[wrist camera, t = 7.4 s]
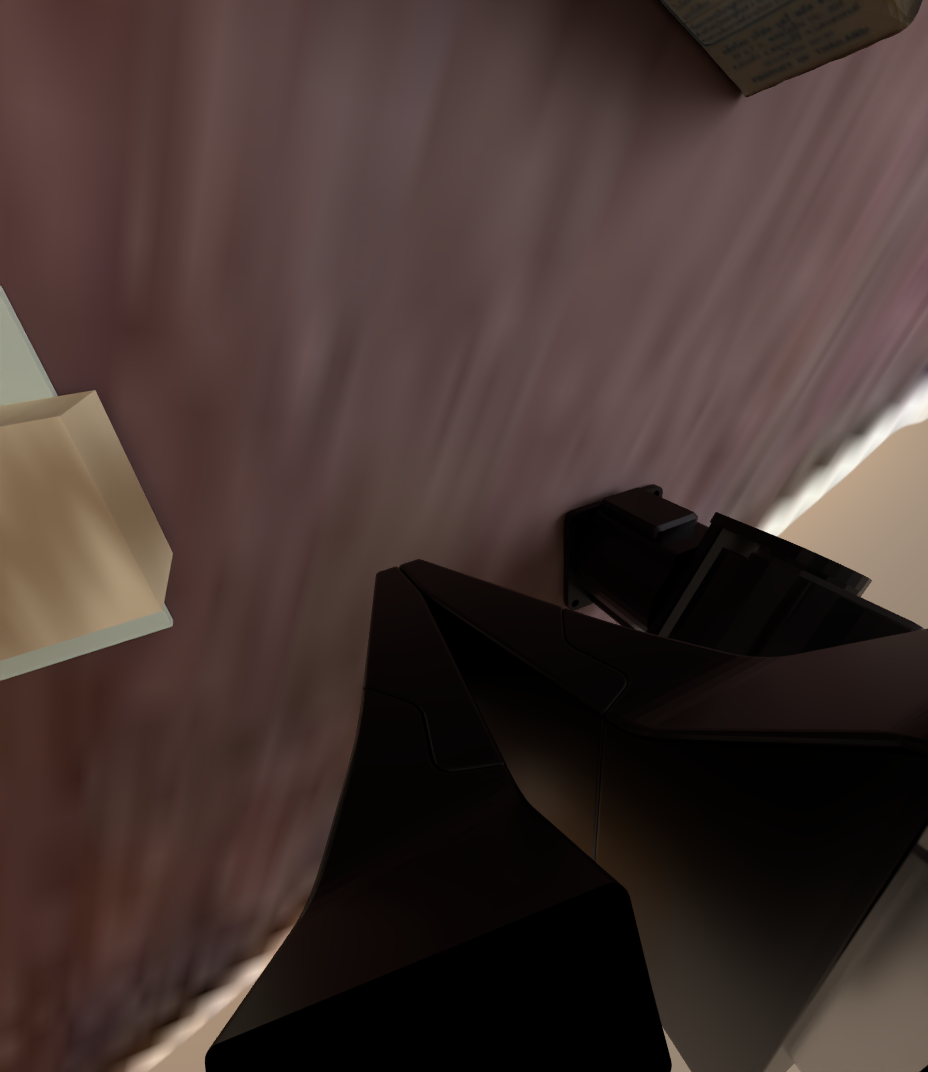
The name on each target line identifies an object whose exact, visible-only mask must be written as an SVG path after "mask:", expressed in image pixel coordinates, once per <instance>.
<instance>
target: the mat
mask: <svg viewBox="0 0 928 1072" xmlns="http://www.w3.org/2000/svg"><path fill="white" fill-rule="evenodd" d="M56 396H58V395H57V394H56V392H55V390H54V388H53V386H52V384H51V382H50V380H49V378H48V376H47V374H46V372H45V370H44V368H43V366H42V364H41V362H40V360H39V358H38V357H37V355H36V353H35V351H34V349H33V347H32V345H31V343H30V341H29V339H28V337H27V335H26V333H25V331H24V329H23V327H22V325H21V323H20V321H19V320H18V318H17V316H16V314H15V312H14V310H13V308H12V306H11V304H10V302H9V300H8V298H7V296H6V294H5V292H4V290H3V288H2V286H0V406H2V405H8V404H14V403H20V402H26V401H32V400H38V399H44V398H50V397H56ZM172 626H173V619H172V617H171V615H170V613H169V612H168V610H167V608H166V606H165V604H164V605H163V610H162V611H161V612H157V613H154V614H151V615H148V616H144V617H141V618H138V619H135V620H131V621H128V622H125V623H122V624H118V625H115V626H112V627H109V628H105V629H102V630H99V631H96V632H92V633H89V634H86V635H83V636H79V637H76V638H73V639H70V640H66V641H63V642H60V643H56V644H53V645H50V646H47V647H43V648H40V649H37V650H34V651H30V652H27V653H24V654H21V655H17V656H14V657H11V658H8V659H4V660H1V661H0V681H1V680H4V679H7V678H11V677H14V676H17V675H20V674H23V673H26V672H30V671H33V670H36V669H39V668H42V667H45V666H48V665H52V664H55V663H58V662H61V661H64V660H67V659H71V658H74V657H77V656H80V655H83V654H86V653H90V652H93V651H96V650H99V649H102V648H105V647H109V646H112V645H115V644H118V643H121V642H124V641H127V640H131V639H134V638H137V637H140V636H143V635H146V634H150V633H153V632H156V631H159V630H162V629H165V628H169V627H172Z"/></svg>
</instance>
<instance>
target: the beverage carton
mask: <svg viewBox="0 0 928 1072" xmlns="http://www.w3.org/2000/svg"><path fill="white" fill-rule="evenodd" d="M660 1H661V2H662V3H663V4H664V5H665V7H666V8H667V9H668V10H669V11H670V12H671V13H672V14H673V15H674V16H675V17H676V18H677V20H678V21H679V22H680V23H681V24H682V25H683V26H684V27H685V28H686V29H687V30H688V31H689V33H690V34H691V35H692V36H693V37H694V38H695V39H696V40H697V41H698V42H699V43H700V45H701V46H702V47H703V48H704V49H705V50H706V51H707V52H708V53H709V55H710V56H711V57H712V58H713V59H714V61H715V62H716V63H717V64H718V65H719V66H720V67H721V69H722V70H723V71H724V72H725V73H726V74H727V75H728V77H729V78H730V79H731V80H732V81H733V82H734V83H735V84H736V85H737V86H738V87H739V89H740V90H741V91H742V93H743V94H744V96H745V97H749V96H752V95H754V94H756V93H758V92H760V91H762V90H765V89H768V88H771V87H773V86H776V85H777V84H779V83H781V82H783V81H785V80H788V79H791V78H793V77H796V76H799V75H801V74H804V73H806V72H809V71H811V70H814V69H816V68H818V67H820V66H822V65H825V64H827V63H829V62H832V61H835V60H838V59H841V58H844V57H846V56H848V55H850V54H852V53H855V52H857V51H859V50H861V49H864V48H866V47H869V46H871V45H873V44H875V43H876V42H878V41H880V40H883V39H886V38H889V37H892V36H894V35H896V34H898V33H900V32H901V31H903V30H904V29H905V28H907V27H908V26H909V25H910V24H911V23H912V21H913V20H914V18H915V17H916V15H917V13H918V11H919V8H920V6H921V3H922V0H660Z"/></svg>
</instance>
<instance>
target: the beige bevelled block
mask: <svg viewBox="0 0 928 1072" xmlns="http://www.w3.org/2000/svg"><path fill="white" fill-rule="evenodd" d="M172 556H173V553H172V551H171V549H170V547H169V544H168V542H167V540H166V538H165V536H164V534H163V532H162V530H161V528H160V525H159V523H158V521H157V519H156V517H155V515H154V513H153V511H152V509H151V507H150V504H149V502H148V500H147V498H146V496H145V494H144V492H143V490H142V488H141V486H140V483H139V481H138V479H137V477H136V475H135V473H134V471H133V469H132V467H131V465H130V462H129V460H128V458H127V456H126V454H125V452H124V450H123V448H122V446H121V443H120V441H119V439H118V437H117V435H116V433H115V431H114V429H113V427H112V425H111V422H110V420H109V418H108V416H107V414H106V412H105V410H104V408H103V406H102V404H101V401H100V399H99V397H98V395H97V393H96V391H95V390H93V391H87V392H81V393H75V394H69V395H62V396H56V397H50V398H44V399H38V400H32V401H26V402H20V403H14V404H8V405H2V406H0V661H1V660H4V659H8V658H11V657H14V656H17V655H21V654H24V653H27V652H30V651H34V650H37V649H40V648H43V647H47V646H50V645H53V644H56V643H60V642H63V641H66V640H70V639H73V638H76V637H79V636H83V635H86V634H89V633H92V632H96V631H99V630H102V629H105V628H109V627H112V626H115V625H118V624H122V623H125V622H128V621H131V620H135V619H138V618H141V617H144V616H148V615H151V614H154V613H157V612H161V611H162V610H163V605H164V599H165V594H166V588H167V583H168V578H169V572H170V567H171V561H172Z"/></svg>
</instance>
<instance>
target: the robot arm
mask: <svg viewBox="0 0 928 1072" xmlns="http://www.w3.org/2000/svg"><path fill="white" fill-rule="evenodd" d="M653 493H654V494H653ZM662 494H663V491H662V488H661V487H659V486H657V485H654V484H652V485H649V486H646V487H643V488H635V489H632V490H628V491H625V492H622V493H619V494H616V495H613V496H610V497H607V498H604V499H603V500H601V501H599V502H596V503H593V504H590V505H587V506H584V507H581V508H578V509H575V510H572V511H570V512H569V513H568V514H567V515H566V517H565V520H564V603H565V606H566V607H567V608H569V609H570V610H569V609H566V608H565V609H562V607H560V606H557V605H554V604H551V603H548V602H545V601H542V600H539V599H536V598H533V597H531V596H528V595H525V594H522V593H519V592H516V591H513V590H510V589H507V588H504V587H501V586H498V585H495V584H492V583H489V582H486V581H483V580H480V579H477V578H474V577H471V576H468V575H465V574H462V573H459V572H456V571H454V570H451V569H448V568H445V567H442V566H439V565H436V564H433V563H430V562H427V561H424V560H420V559H417V560H414V561H411V562H408V563H405V564H402V565H400V567H399V568H398V567H393V568H389V569H386V570H383V571H380V572H378V573H377V574H376V580H375V589H374V597H373V606H372V614H371V623H370V632H369V640H368V649H367V658H366V666H365V675H364V684H363V692H362V698H361V707H360V714H359V720H358V726H357V732H356V738H355V742H354V746H353V750H352V754H351V758H350V762H349V766H348V770H347V774H346V777H345V781H344V784H343V788H342V791H341V795H340V798H339V802H338V805H337V809H336V812H335V816H334V819H333V823H332V826H331V830H330V833H329V837H328V840H327V844H326V847H325V851H324V855H323V858H322V861H321V864H320V868H319V871H318V874H317V877H316V880H315V883H314V886H313V888H312V891H311V894H310V896H309V898H308V901H307V903H306V905H305V907H304V909H303V911H302V913H301V915H300V917H299V919H298V921H297V923H296V924H295V926H294V927H293V929H292V930H291V932H290V933H289V935H288V936H287V938H286V939H285V941H284V942H283V943H282V945H281V946H280V948H279V949H278V951H277V952H276V954H275V955H274V956H273V958H272V959H271V961H270V962H269V964H268V965H267V967H266V968H265V969H264V971H263V972H262V974H261V975H260V977H259V978H258V979H257V981H256V982H255V984H254V985H253V987H252V988H251V990H250V991H249V993H248V994H247V995H246V997H245V998H244V1000H243V1001H242V1003H241V1004H240V1005H239V1007H238V1008H237V1010H236V1011H235V1013H234V1014H233V1016H232V1017H231V1018H230V1020H229V1021H228V1023H227V1024H226V1025H225V1027H224V1028H223V1030H222V1031H221V1033H220V1034H219V1036H218V1037H217V1038H216V1040H215V1041H214V1043H213V1044H212V1046H211V1047H210V1049H209V1050H208V1052H207V1054H206V1056H205V1068H206V1072H671V1066H672V1064H671V1058H670V1055H669V1051H668V1047H667V1043H666V1039H665V1036H664V1032H663V1028H664V1030H665V1031H666V1033H667V1034H668V1036H669V1037H670V1039H671V1041H672V1042H673V1044H674V1045H675V1047H676V1048H677V1050H678V1051H679V1053H680V1055H681V1056H682V1058H683V1059H684V1061H685V1062H686V1064H687V1066H688V1067H689V1069H690V1070H691V1072H786V1071H787V1070H788V1069H789V1068H790V1067H791V1066H792V1065H793V1064H794V1063H795V1064H796V1066H797V1067H798V1068H799V1070H800V1071H801V1072H928V629H924V628H922V627H921V626H919V625H917V624H916V623H914V622H912V621H910V620H908V619H906V618H903V617H901V616H899V615H897V614H895V613H893V612H890V611H888V610H886V609H884V608H882V607H880V606H878V605H876V604H874V603H872V602H869V601H867V600H865V599H863V598H861V596H862V594H863V593H864V591H865V590H866V588H867V587H868V586H869V584H870V583H871V581H872V580H871V579H869V578H868V577H866V576H864V575H862V574H860V573H858V572H856V571H853V570H851V569H849V568H847V567H844V566H843V565H841V564H839V563H836V562H834V561H832V560H830V559H828V558H825V557H823V556H821V555H818V554H816V553H814V552H812V551H810V550H807V549H805V548H803V547H800V546H798V545H796V544H793V543H791V542H789V541H786V540H784V539H781V538H779V537H777V536H774V535H772V534H769V533H767V532H764V531H762V530H759V529H757V528H754V527H752V526H749V525H747V524H744V523H742V522H739V521H737V520H735V519H732V518H730V517H727V516H725V515H722V514H720V513H717V512H715V514H714V516H713V517H712V519H711V521H710V522H711V525H710V526H709V527H707V526H705V525H703V524H701V523H699V522H697V520H698V516H697V515H696V514H695V513H694V512H692V511H690V510H688V509H686V508H683V507H681V506H679V505H677V504H674V503H672V502H670V501H668V500H666V499H663V498H662ZM575 518H576V519H575ZM574 519H575V521H574V522H573V520H574ZM573 601H574V602H573ZM591 603H594V604H596V605H597V606H598V607H599V608H600V609H602V610H603V611H604V612H605V613H607V614H608V615H609V616H610V617H611V618H613V619H614V620H615V621H616V622H618V623H619V624H620V625H617V624H613V623H610V622H607V621H603V620H600V619H597V618H594V617H591V616H587V615H584V614H581V613H578V612H575V611H573V610H577V609H579V608H581V607H584V606H586V605H589V604H591ZM662 1027H663V1028H662Z"/></svg>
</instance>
